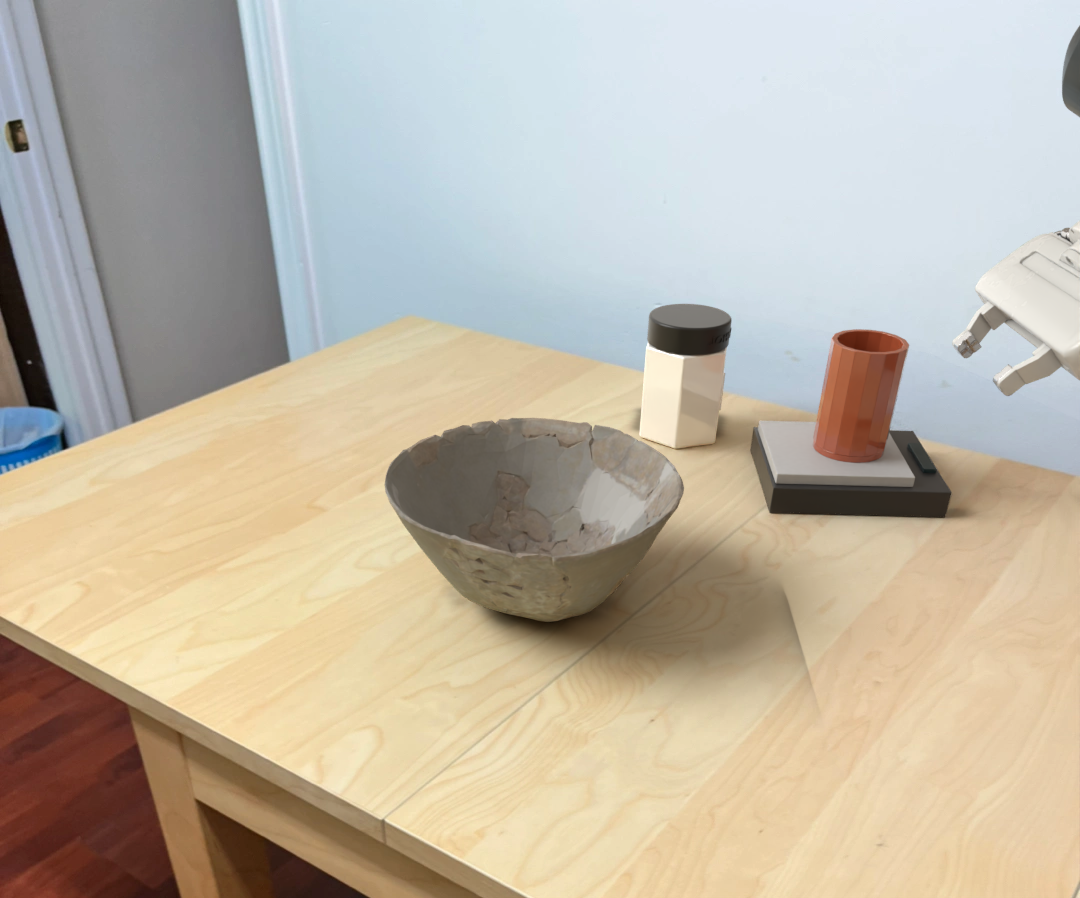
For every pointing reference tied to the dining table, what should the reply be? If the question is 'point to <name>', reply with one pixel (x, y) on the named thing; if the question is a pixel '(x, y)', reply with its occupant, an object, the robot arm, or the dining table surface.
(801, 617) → the dining table surface
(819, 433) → the cup
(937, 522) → the dining table surface
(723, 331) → the jar
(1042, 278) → the robot arm
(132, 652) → the dining table surface
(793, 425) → the kitchen scale
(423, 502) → the ceramic bowl
